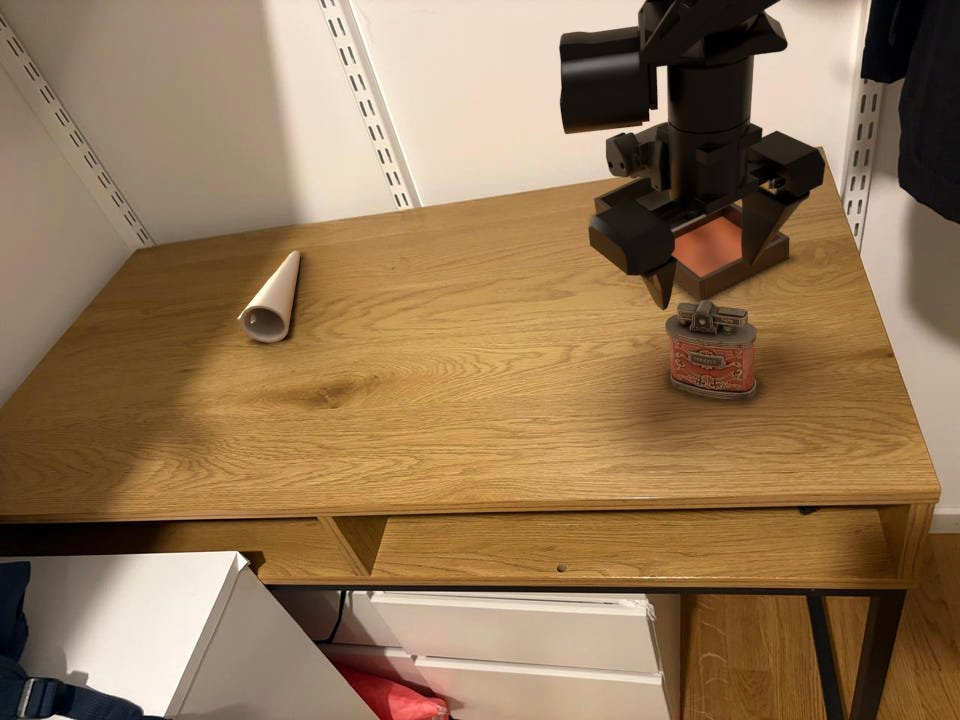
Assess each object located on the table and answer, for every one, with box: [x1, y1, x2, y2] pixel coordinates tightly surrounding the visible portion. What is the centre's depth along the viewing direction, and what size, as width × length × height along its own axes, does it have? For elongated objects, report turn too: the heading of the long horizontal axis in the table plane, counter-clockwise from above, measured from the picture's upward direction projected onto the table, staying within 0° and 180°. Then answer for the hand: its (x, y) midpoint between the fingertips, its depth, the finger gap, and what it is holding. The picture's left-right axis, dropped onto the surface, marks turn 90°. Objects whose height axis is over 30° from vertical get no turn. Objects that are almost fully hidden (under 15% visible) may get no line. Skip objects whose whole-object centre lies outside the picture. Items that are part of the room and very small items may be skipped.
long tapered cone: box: [236, 250, 301, 344], centre depth 101 cm, size 6×6×19 cm
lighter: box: [664, 299, 757, 400], centre depth 69 cm, size 8×3×10 cm, turn 62°
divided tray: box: [593, 177, 791, 303], centre depth 89 cm, size 12×23×3 cm, turn 23°
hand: (705, 284), depth 64 cm, fingers open, 9 cm apart
